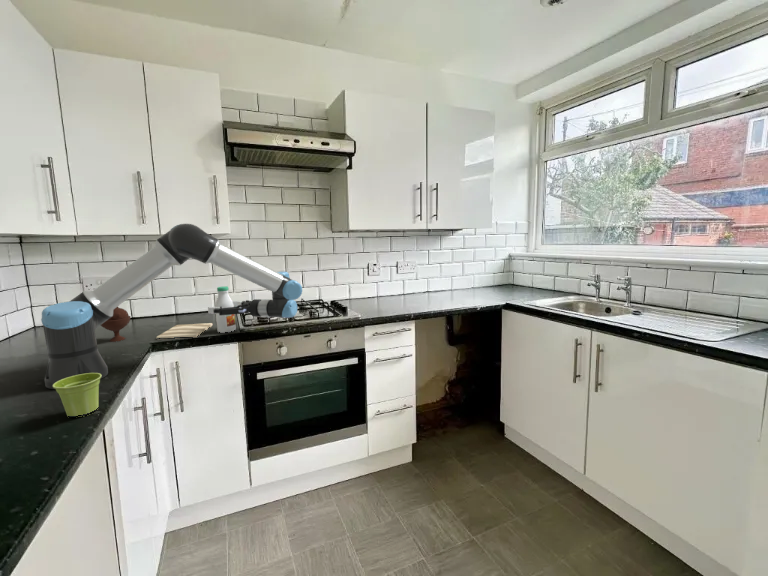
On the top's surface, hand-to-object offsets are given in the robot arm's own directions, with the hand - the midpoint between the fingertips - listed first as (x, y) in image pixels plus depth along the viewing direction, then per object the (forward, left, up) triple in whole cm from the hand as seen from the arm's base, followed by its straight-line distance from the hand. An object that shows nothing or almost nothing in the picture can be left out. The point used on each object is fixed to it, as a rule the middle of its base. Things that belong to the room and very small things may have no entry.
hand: (219, 307), depth 167 cm
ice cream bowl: (-6, +40, -11) cm, 42 cm away
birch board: (+1, +15, -11) cm, 19 cm away
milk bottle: (-1, -3, -11) cm, 11 cm away
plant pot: (-75, +11, -11) cm, 77 cm away
